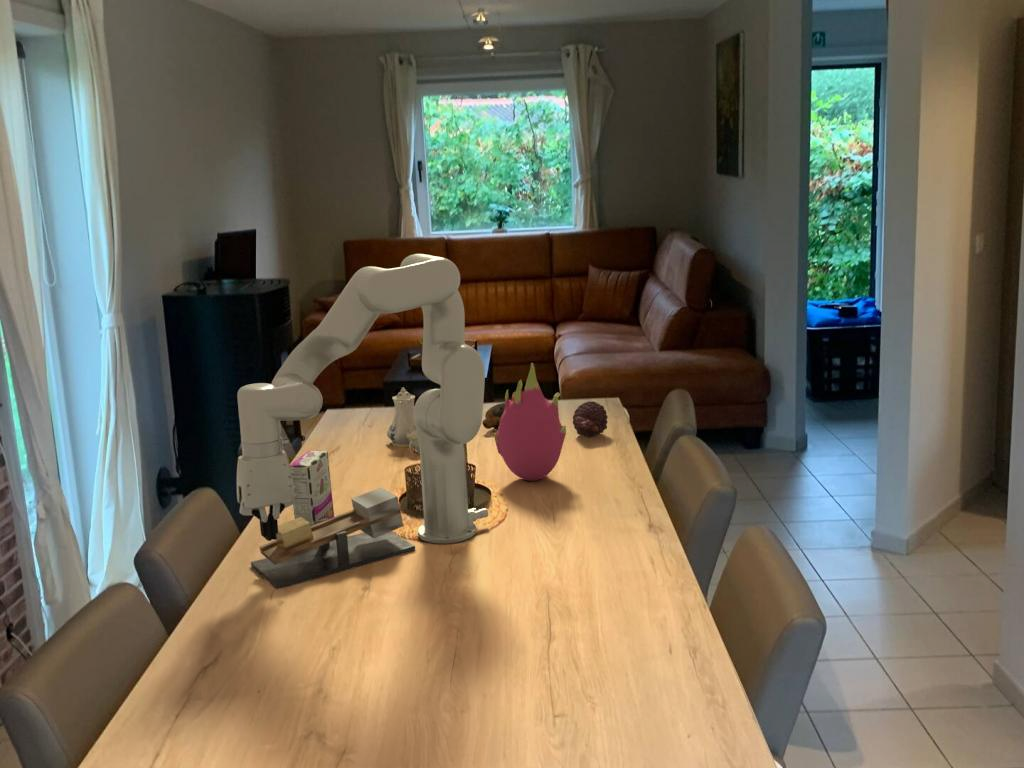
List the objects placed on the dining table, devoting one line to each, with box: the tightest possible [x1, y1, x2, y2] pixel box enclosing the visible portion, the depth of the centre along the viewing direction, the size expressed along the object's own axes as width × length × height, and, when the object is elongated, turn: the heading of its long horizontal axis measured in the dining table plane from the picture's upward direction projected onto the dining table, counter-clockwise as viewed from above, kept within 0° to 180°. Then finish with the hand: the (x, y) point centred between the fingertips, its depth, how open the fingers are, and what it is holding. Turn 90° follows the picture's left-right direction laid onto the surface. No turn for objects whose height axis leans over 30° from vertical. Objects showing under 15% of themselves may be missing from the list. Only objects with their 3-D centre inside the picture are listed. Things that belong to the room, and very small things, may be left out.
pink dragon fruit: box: [494, 362, 567, 482], centre depth 248 cm, size 18×14×30 cm
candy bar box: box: [289, 449, 335, 526], centre depth 222 cm, size 11×5×16 cm, turn 168°
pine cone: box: [572, 400, 609, 439], centre depth 286 cm, size 18×10×10 cm, turn 178°
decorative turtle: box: [481, 402, 505, 430], centre depth 297 cm, size 10×15×8 cm, turn 137°
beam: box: [259, 486, 404, 565], centre depth 205 cm, size 28×8×7 cm, turn 124°
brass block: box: [276, 517, 314, 551], centre depth 201 cm, size 6×4×4 cm
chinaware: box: [386, 387, 420, 454], centre depth 286 cm, size 28×17×17 cm, turn 178°
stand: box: [250, 518, 416, 590], centre depth 206 cm, size 30×14×7 cm, turn 124°
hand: (269, 538), depth 198 cm, fingers closed
